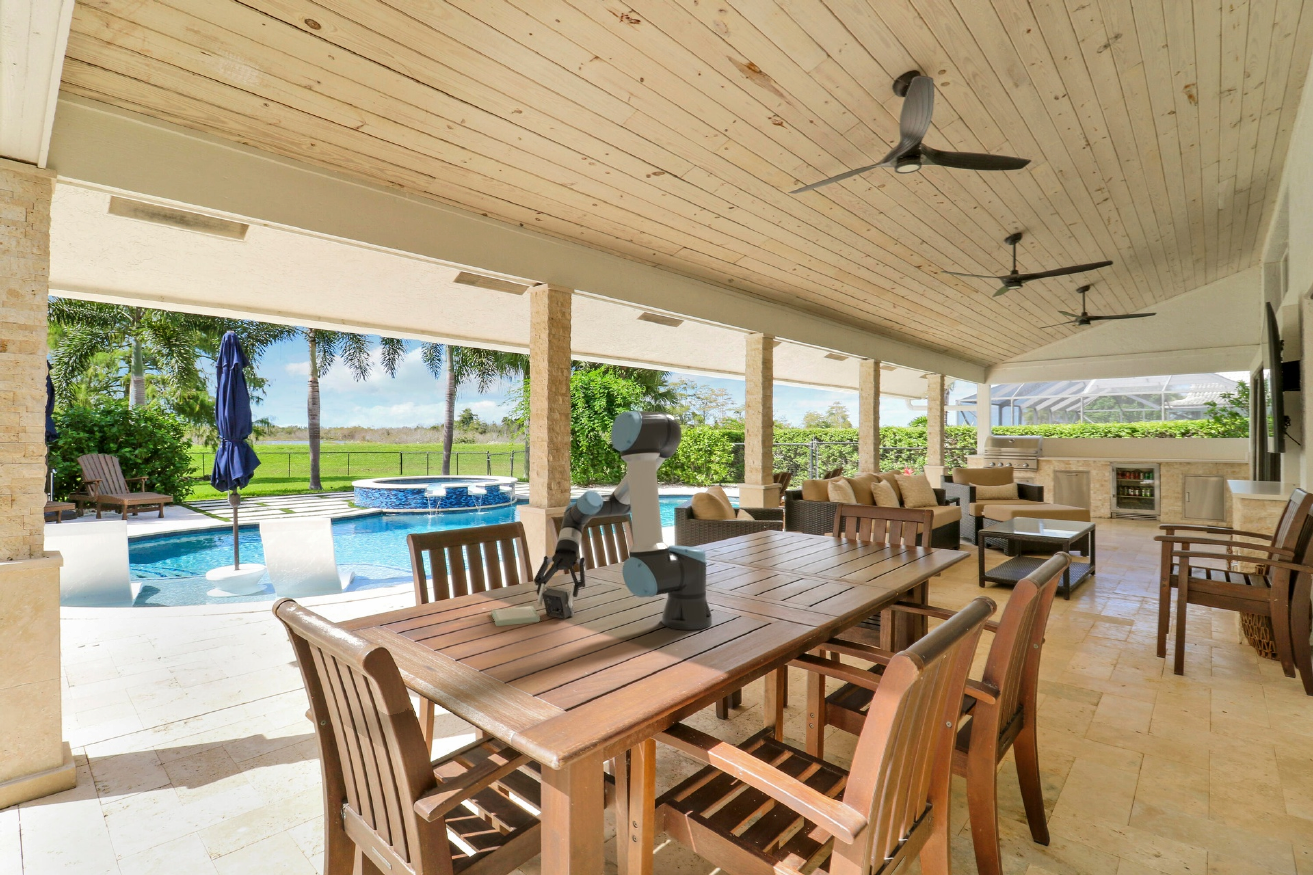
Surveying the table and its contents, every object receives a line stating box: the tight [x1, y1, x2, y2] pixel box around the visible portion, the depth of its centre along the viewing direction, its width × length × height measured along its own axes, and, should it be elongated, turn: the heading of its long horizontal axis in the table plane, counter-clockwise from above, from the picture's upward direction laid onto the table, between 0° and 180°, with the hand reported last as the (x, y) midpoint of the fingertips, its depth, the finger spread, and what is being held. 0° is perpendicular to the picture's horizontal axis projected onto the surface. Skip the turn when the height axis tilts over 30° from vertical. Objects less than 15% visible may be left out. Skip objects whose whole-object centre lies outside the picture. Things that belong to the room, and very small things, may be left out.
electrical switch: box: [542, 585, 575, 620], centre depth 196 cm, size 9×5×9 cm, turn 57°
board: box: [490, 605, 541, 627], centre depth 194 cm, size 13×13×2 cm
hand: (554, 604), depth 193 cm, fingers closed on electrical switch, 9 cm apart
